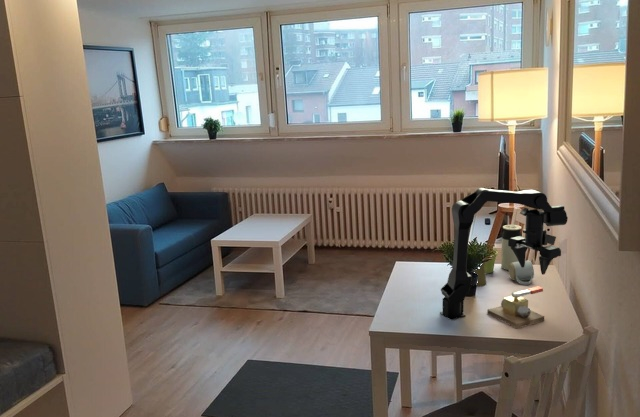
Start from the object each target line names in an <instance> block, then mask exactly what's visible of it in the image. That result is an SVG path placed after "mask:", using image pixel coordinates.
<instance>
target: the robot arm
mask: <svg viewBox="0 0 640 417" xmlns="http://www.w3.org/2000/svg"><path fill="white" fill-rule="evenodd" d="M487 202H492V203H493V202H494V203H503V204H504V203H507V204H516V205H521V206H525V207H524V208H523V209H521V210H520V211H519V214H520V215H522V216H524V217H525V228H524V229H523V230H522V234H524V237H523V236H522V237H521V236H518V237H513V238H510V239H509V241H508V246H510V247H511V249H512V250H513V252H514V253H515V255H516V257H517V259H518V261H519V263H520V265H521V267H524V266H525V261H526V254H527V250H528V249H531V250H534V251H537V252H539V256H538V261H539V266H540V272H541V275H546V272H547V270H548V268H549V266H550V264H551V262H552V260H554V259H556V258H558V257H561V256H562V248H560V247H558V246H555V243H556V239H557V236H555V235H550V234H548V233H547V230H546V229H544V224H545V225H546V227H555V226H558V227H559V226H565V225H567V223H568V216H567V215H568V214H567V211H566V210H565V206H564V205H562V204H560V205H554V206H553V205H552V206H551V205H550V203H549V202H548V198H547V195H546V194H545V193H544V192H542V191H541V192H540V191H538V190H536V189H523V190H519V191H512V190H502V189H491V188H484V187H480V188H478V189H476V190H475V191H474V192H472V193H470V194H468V195H467V196H464V197H463V198H462V199H461V200H458V201H456V202H454V203H453V204H452V207H451V215H452V216H451V217H452V221H453V224H454V241H453V243H454V244H453V258H452V260H453V262H452V269H451V270H450V272H449V274H448V278H447V282H446V283H445V284H444V286H442V287H441V288H440V291H441V294H442V296H444V297H443V298H442V311H440V312H439V315H441V316H443V317H445V318H447V319H448V320H451V321H452V320H455V319H459V318H462V317H466V313H464V302H465V298H466V296H467V294H469V293H470V290H471V289H472V288H473V287H472V284H471V281H472V274H470V273H469V272H467V271H468V270H467V265H468V250H469V232H470V228H471V227H472V225H473V223H474V219H475V215H476V214H477V213H478V212H480V210H481V209H482V208H483V207H484V205H485V204H486V203H487ZM529 208H530V209H529ZM548 244H549V245H548Z"/></svg>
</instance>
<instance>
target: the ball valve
mask: <svg viewBox="0 0 640 417" xmlns="http://www.w3.org/2000/svg"><path fill="white" fill-rule="evenodd" d="M500 306H502V308H503V312H505V313H507V314H509V315H511V316H513V317H519V316H521V317H523V318H527V317H529V315H530V310H531V309H530V308H529V300H528V299H527V298H525V297H523V296H520V297H519V298H515V297H512V295H510V296H506V297H503V299H502V301H501V303H500Z"/></svg>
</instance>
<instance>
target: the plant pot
mask: <svg viewBox="0 0 640 417" xmlns="http://www.w3.org/2000/svg"><path fill="white" fill-rule="evenodd" d="M493 250H494V251H495V255H494V256H492V257H493V259H492V260H490V261H488V262H486V263H485V265H484V268H485V274H491V273H493V272H494V268H495V263H496V257H497V255H498V251H497V250H496V249H493Z"/></svg>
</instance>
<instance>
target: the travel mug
mask: <svg viewBox="0 0 640 417" xmlns="http://www.w3.org/2000/svg"><path fill="white" fill-rule="evenodd" d="M502 228H503V232H502V233H501V258H500V259H501V260H500V261H501V263H500V266H501V268H502V269H504V270H506V271H509V264H510V263H513V262H519V261H518V259H517V257H516V255H515V253H514V252H513V250H512V249H511V247H510V246H508V241H509V239H510V238H513V237H518V236H521V237H523V233H522V232H521V231H522V226H520V225H518V224H506V225H503V226H502Z"/></svg>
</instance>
